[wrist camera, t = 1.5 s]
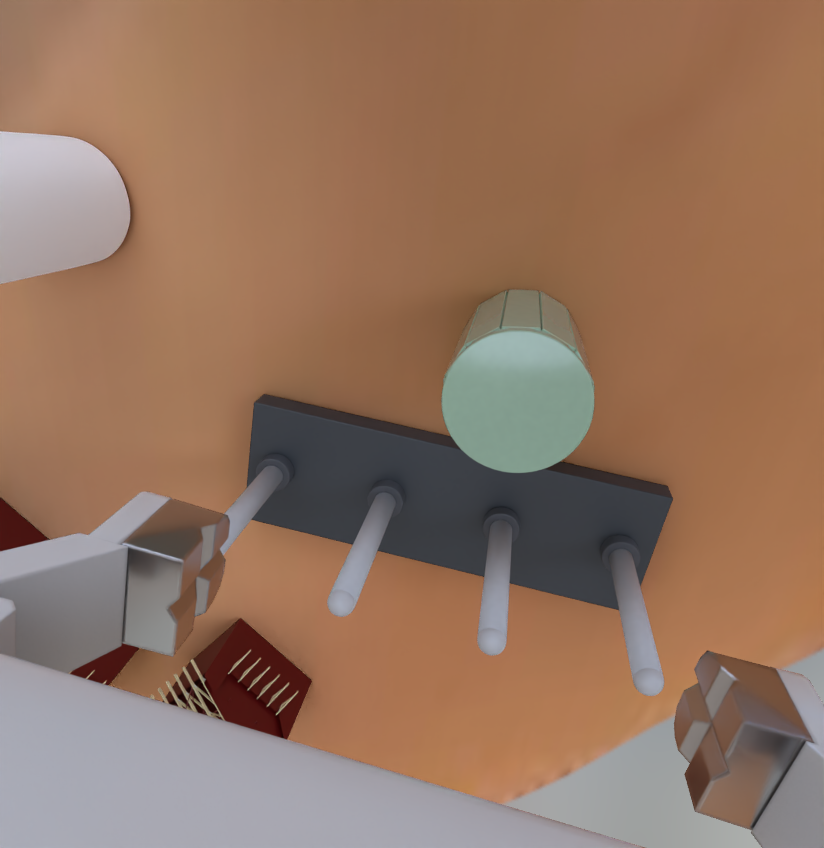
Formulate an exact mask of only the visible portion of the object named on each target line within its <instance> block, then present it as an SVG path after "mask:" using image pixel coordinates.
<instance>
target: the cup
mask: <svg viewBox="0 0 824 848" xmlns="http://www.w3.org/2000/svg"><path fill="white" fill-rule="evenodd" d="M594 388H595V386H594V381H593V378H592V374H591V371H590V367H589V364H588V360H587V357H586V353H585V350H584V346H583V343H582V339H581V336H580V333H579V331H578V329H577V327H576V325H575V323H574V321H573V319H572V317H571V315H570V313H569V311H568V309H567V308H566V307H565V306H564V305H562V304H561V303H559V302H558V301H556V300H554V299H553V298H551V297H550V296H548V295H546V294H545V293H543V292H542V291H540V292H539V291H538V290H510V289H509V290H508V291H507V290H505V291H504V292H502V293H500V294H498V295H496V296H494V297H492V298H490V299H488V300H487V301H485V302H483V303H481V304H480V306H478V307H477V309H476V310H475V312H474V314H473V315H472V317H471V318H470V320H469V321H468V323H467V325H466V326H465V328H464V330H463V332H462V334H461V337H460V339H459V342H458V344H457V347H456V349H455V351H454V354H453V356H452V359H451V361H450V364H449V366H448V368H447V371H446V373H445V377H444V379H443V390H442V399H441V403H442V413H443V418H444V421H445V424H446V427H447V429H448V431H449V433H450V435H451V437H452V438H453V440H454V441H455V443H456V444H457V445H458V446H459V447H460V449H461V450H462V451H463V452H464V453H466V454H467V455H468V456H469V457H471V458H472V459H473V460H475V461H476V462H478V463H480V464H482V465H484V466H486V467H489V468H491V469H494V470H498V471H502V472H509V473H527V472H534V471H538V470H542V469H545V468H547V467H550V466H552V465H554V464H556V463H558V462H560V461H561V460H563V459H564V458H566V457H567V456H568V455H569V454H570V453H572V452H573V451H574V450H575V449H576V448H577V446H578V445H579V444H580V443H581V441H582V440H583V438H584V437H585V435H586V433H587V431H588V429H589V427H590V424H591V421H592V418H593V412H594Z"/></svg>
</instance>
